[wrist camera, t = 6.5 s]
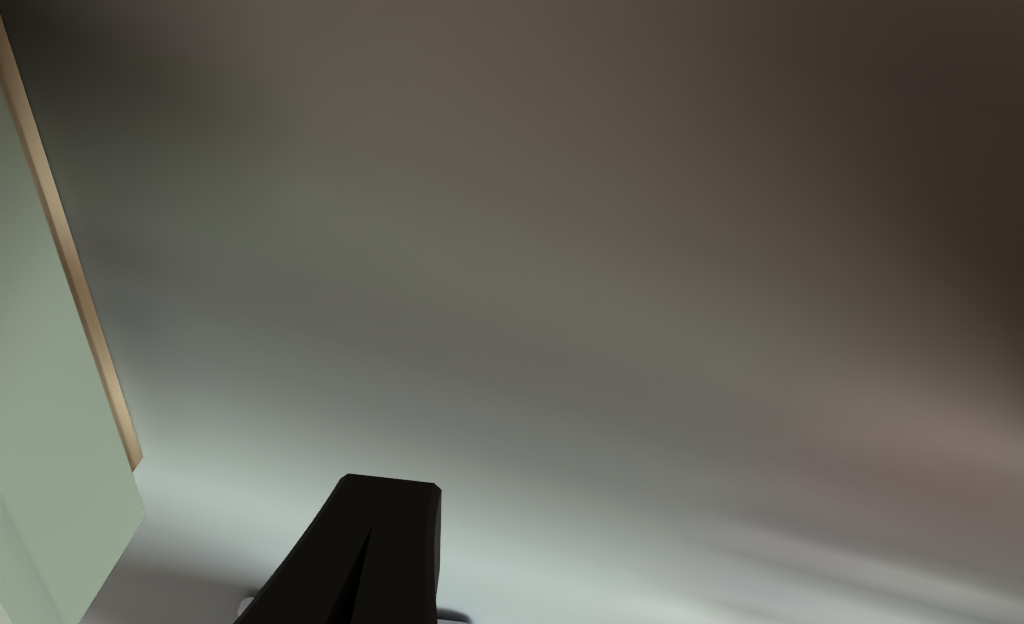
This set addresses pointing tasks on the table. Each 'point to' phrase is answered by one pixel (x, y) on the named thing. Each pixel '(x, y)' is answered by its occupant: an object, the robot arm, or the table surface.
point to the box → (64, 242)
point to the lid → (51, 424)
